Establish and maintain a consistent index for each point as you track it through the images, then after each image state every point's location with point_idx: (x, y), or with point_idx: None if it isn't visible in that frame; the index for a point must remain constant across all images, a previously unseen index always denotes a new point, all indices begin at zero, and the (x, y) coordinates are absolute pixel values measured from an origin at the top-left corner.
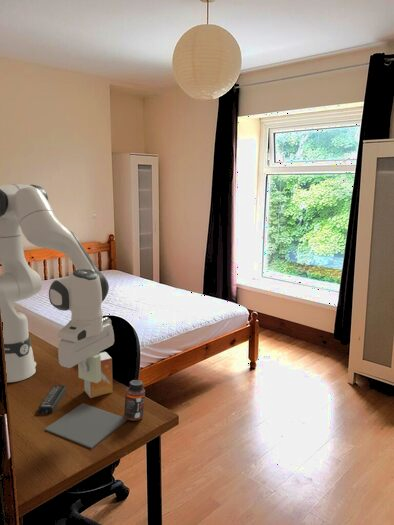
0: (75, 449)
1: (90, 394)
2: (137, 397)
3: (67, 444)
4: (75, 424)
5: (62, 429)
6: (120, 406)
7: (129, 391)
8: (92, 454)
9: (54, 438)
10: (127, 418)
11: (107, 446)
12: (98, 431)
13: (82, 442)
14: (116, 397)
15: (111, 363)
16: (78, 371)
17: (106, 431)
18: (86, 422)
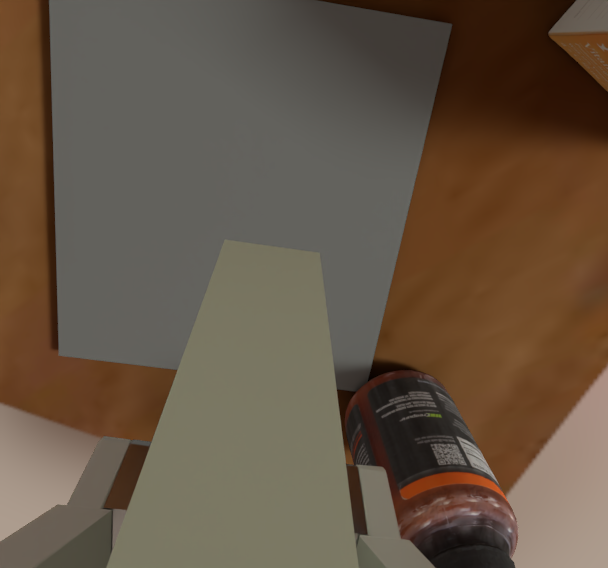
0: (14, 276)
1: (563, 31)
2: None
3: (22, 209)
4: (190, 145)
5: (103, 95)
6: (488, 290)
7: None
8: (32, 372)
9: (21, 93)
10: (346, 411)
11: (119, 403)
12: (191, 315)
13: (65, 290)
14: (595, 212)
15: None
16: (211, 279)
17: None
18: (239, 200)
